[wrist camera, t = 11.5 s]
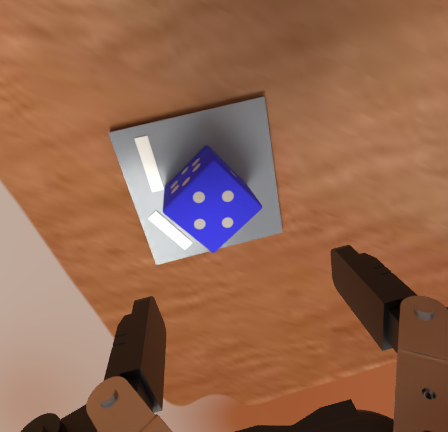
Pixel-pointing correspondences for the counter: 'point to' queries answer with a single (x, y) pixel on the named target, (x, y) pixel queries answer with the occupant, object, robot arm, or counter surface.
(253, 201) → the die
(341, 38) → the counter surface
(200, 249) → the tile
